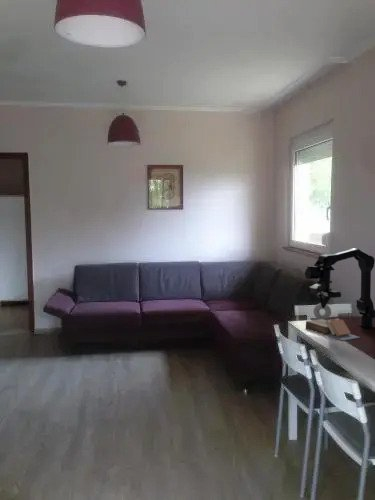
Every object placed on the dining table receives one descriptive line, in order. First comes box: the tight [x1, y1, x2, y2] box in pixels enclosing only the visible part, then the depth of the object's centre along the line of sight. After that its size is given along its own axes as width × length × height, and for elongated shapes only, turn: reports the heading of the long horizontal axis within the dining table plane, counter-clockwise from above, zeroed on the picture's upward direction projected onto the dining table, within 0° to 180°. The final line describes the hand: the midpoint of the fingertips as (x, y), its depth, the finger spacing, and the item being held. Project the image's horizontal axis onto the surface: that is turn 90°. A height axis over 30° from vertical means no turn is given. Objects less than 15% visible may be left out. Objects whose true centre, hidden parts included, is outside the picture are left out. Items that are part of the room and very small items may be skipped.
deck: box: [305, 319, 331, 336], centre depth 239 cm, size 12×14×4 cm
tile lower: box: [326, 317, 340, 335], centre depth 232 cm, size 8×8×2 cm
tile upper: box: [329, 319, 351, 337], centre depth 229 cm, size 8×8×2 cm
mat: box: [325, 333, 361, 342], centre depth 228 cm, size 12×11×1 cm
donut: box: [312, 303, 332, 320], centre depth 262 cm, size 10×4×10 cm, turn 72°
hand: (323, 307), depth 240 cm, fingers closed
